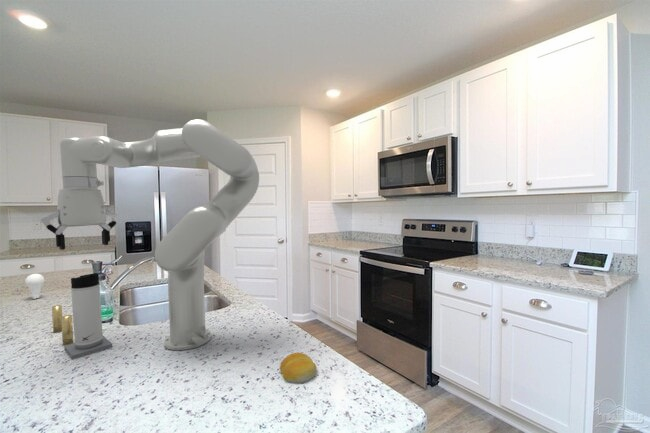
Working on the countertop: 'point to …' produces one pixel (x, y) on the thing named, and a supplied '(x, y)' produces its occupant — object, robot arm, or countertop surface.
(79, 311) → the travel mug
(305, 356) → the bread roll
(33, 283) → the lightbulb
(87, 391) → the countertop surface
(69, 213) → the robot arm
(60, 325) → the spacer posts
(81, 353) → the mat
